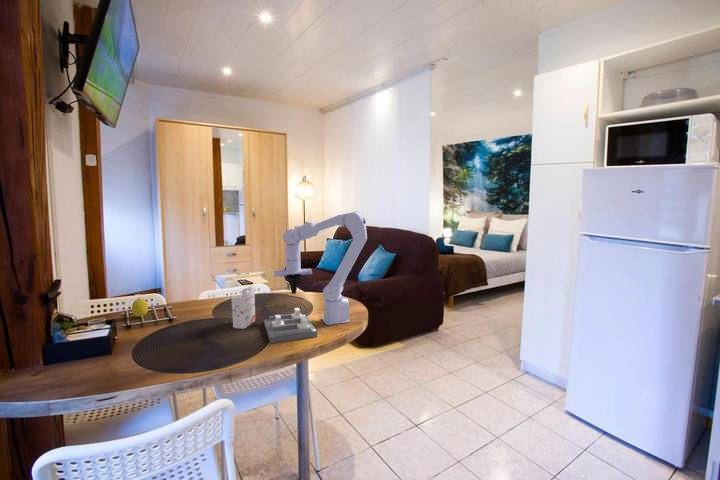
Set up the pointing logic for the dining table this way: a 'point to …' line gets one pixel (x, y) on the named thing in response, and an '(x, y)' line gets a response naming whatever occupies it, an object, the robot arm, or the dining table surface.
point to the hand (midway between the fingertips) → (293, 293)
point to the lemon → (139, 307)
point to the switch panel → (288, 329)
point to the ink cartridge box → (243, 308)
